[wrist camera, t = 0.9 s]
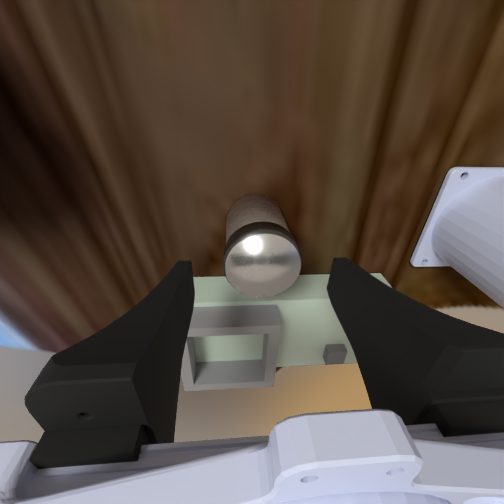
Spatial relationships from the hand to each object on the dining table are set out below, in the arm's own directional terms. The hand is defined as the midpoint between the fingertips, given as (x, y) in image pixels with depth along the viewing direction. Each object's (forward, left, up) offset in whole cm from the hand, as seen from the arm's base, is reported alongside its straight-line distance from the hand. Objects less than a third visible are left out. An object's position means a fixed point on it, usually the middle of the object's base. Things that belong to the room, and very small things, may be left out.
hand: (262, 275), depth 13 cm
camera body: (-2, +9, -7) cm, 11 cm away
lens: (0, 0, -7) cm, 7 cm away
